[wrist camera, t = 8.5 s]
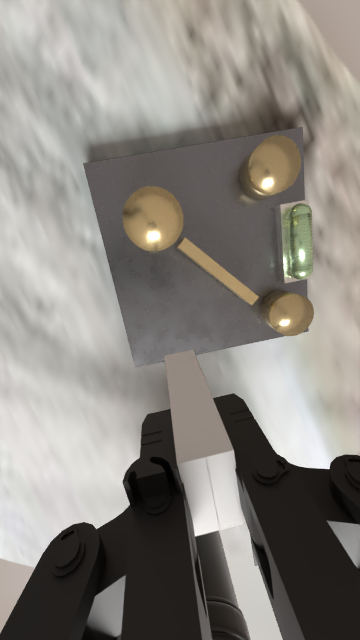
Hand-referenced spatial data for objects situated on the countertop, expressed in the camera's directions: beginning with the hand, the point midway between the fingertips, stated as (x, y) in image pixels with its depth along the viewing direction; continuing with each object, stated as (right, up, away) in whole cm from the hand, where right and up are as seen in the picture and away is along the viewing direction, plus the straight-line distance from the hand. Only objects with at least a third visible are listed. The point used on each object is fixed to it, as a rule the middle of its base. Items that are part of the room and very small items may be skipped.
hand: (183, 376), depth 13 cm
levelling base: (+3, +11, +19) cm, 22 cm away
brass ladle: (+1, +11, +16) cm, 19 cm away
